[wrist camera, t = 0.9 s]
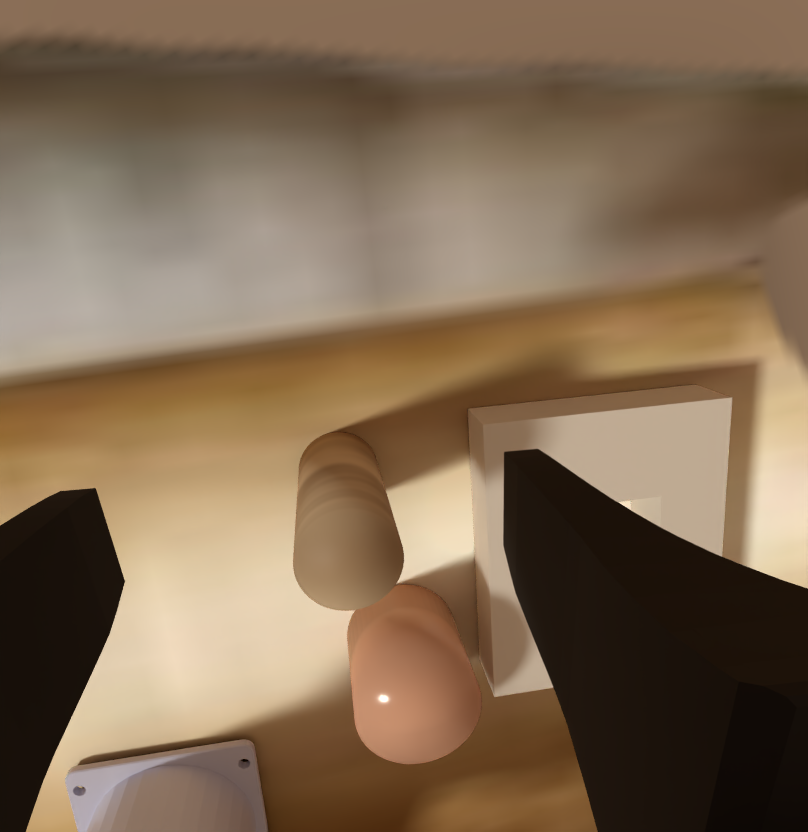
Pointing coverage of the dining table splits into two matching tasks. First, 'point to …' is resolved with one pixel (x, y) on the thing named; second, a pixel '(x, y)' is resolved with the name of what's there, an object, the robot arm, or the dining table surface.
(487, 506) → the hole plate
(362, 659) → the terracotta peg
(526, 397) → the dining table surface
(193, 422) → the dining table surface
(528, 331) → the dining table surface
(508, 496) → the robot arm
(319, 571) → the beech pin
